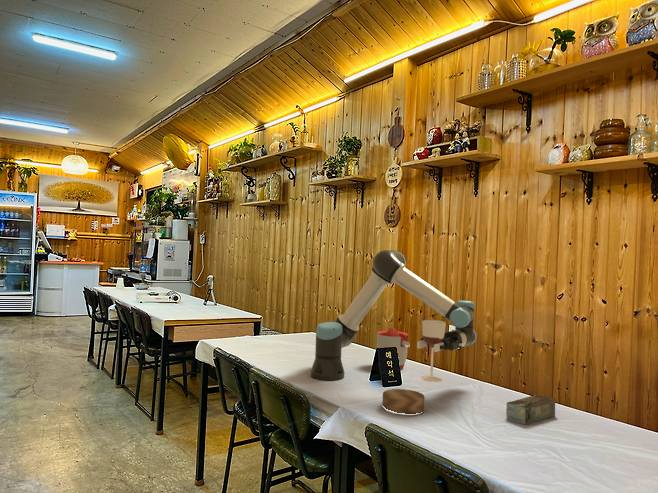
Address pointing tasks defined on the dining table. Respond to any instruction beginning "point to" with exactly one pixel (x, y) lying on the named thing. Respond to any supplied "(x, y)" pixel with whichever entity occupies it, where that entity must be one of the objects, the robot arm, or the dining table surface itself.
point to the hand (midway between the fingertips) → (426, 346)
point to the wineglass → (432, 341)
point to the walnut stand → (403, 401)
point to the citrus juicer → (394, 342)
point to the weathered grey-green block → (530, 409)
